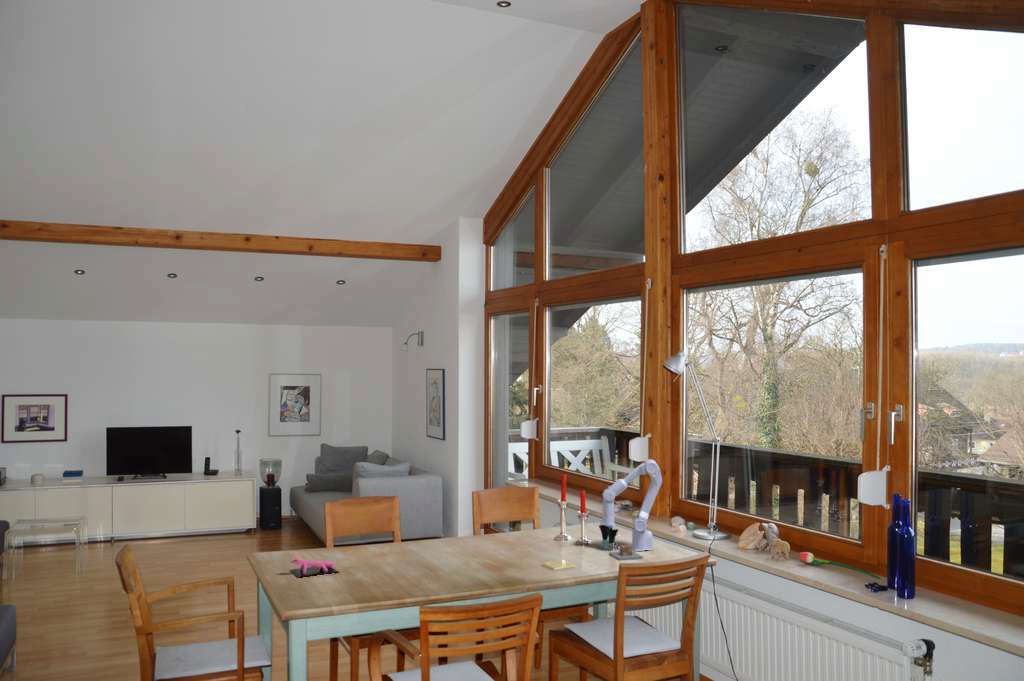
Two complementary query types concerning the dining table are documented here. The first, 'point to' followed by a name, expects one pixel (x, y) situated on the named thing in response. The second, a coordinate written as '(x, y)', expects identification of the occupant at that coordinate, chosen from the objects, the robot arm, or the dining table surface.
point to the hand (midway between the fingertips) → (608, 541)
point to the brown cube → (625, 550)
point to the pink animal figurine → (313, 568)
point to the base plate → (621, 557)
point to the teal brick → (606, 544)
